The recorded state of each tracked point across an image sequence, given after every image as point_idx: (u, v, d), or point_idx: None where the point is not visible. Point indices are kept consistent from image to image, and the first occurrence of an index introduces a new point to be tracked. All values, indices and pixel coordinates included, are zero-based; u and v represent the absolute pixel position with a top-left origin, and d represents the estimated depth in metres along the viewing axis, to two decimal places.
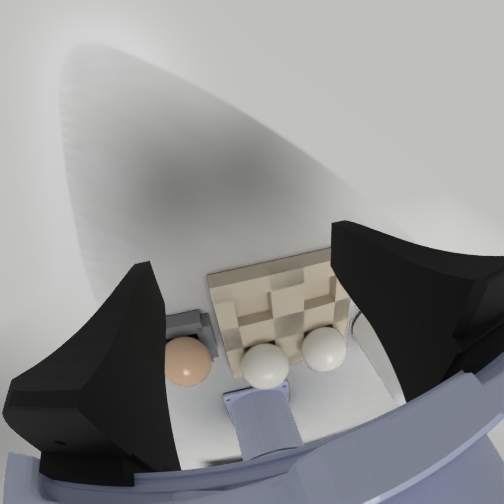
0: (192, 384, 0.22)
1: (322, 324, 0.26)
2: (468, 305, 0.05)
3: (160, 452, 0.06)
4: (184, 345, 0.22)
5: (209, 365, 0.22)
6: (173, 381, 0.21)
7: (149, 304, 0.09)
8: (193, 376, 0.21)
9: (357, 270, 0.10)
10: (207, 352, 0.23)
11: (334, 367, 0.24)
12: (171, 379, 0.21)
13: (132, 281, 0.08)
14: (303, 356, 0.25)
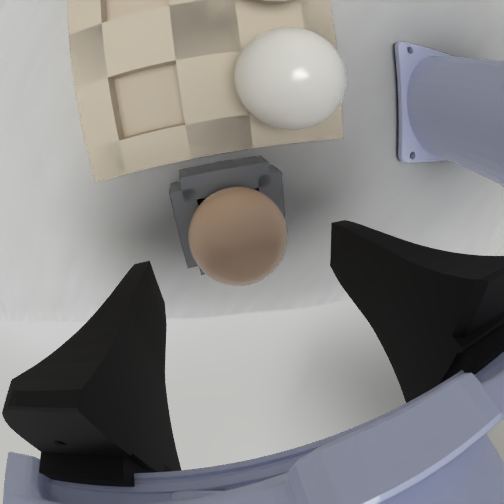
0: (261, 251, 0.11)
1: None
2: (468, 305, 0.05)
3: (160, 452, 0.06)
4: (188, 237, 0.12)
5: (234, 202, 0.11)
6: (252, 280, 0.12)
7: (149, 304, 0.09)
8: (233, 247, 0.11)
9: (357, 270, 0.10)
10: (214, 196, 0.12)
11: None
12: (246, 282, 0.12)
13: (132, 281, 0.08)
14: None
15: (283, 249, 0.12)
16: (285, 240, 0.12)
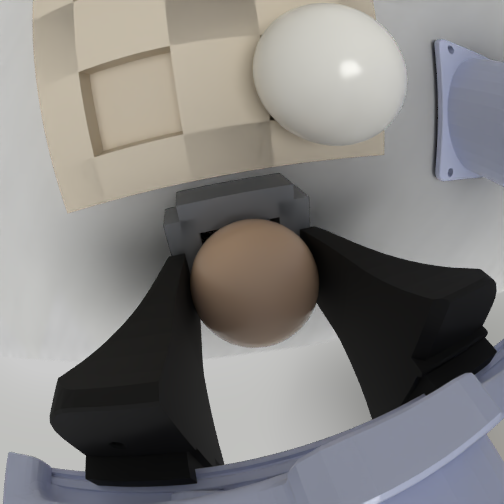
0: (290, 313, 0.08)
1: None
2: (426, 326, 0.05)
3: (211, 446, 0.06)
4: (190, 287, 0.09)
5: (253, 247, 0.08)
6: (275, 343, 0.09)
7: (188, 296, 0.09)
8: (253, 311, 0.08)
9: (323, 279, 0.10)
10: (225, 235, 0.09)
11: None
12: (266, 346, 0.09)
13: (173, 272, 0.09)
14: None
15: (315, 303, 0.09)
16: (317, 292, 0.09)
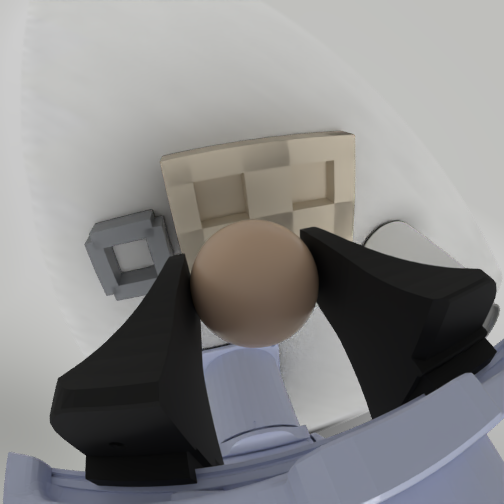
0: (290, 314, 0.08)
1: None
2: (427, 326, 0.05)
3: (211, 446, 0.06)
4: (190, 287, 0.09)
5: (254, 247, 0.08)
6: (275, 344, 0.09)
7: (188, 296, 0.09)
8: (253, 312, 0.08)
9: (323, 279, 0.10)
10: (225, 235, 0.09)
11: None
12: (266, 346, 0.09)
13: (173, 272, 0.09)
14: None
15: (314, 304, 0.09)
16: (317, 293, 0.09)
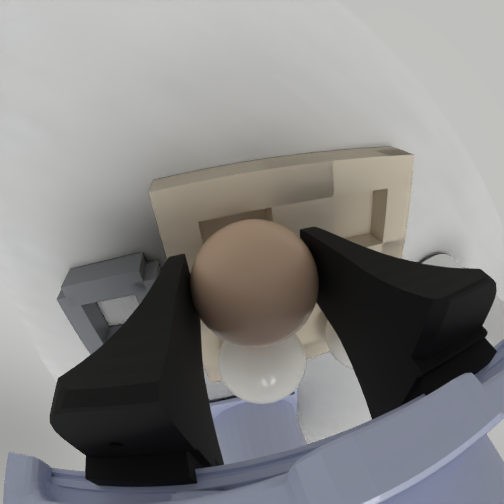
0: (290, 313, 0.08)
1: None
2: (427, 326, 0.05)
3: (211, 446, 0.06)
4: (190, 287, 0.09)
5: (254, 247, 0.08)
6: (275, 343, 0.09)
7: (188, 296, 0.09)
8: (253, 311, 0.08)
9: (323, 279, 0.10)
10: (225, 235, 0.09)
11: None
12: (266, 346, 0.09)
13: (173, 272, 0.09)
14: (330, 343, 0.14)
15: (314, 304, 0.09)
16: (317, 292, 0.09)
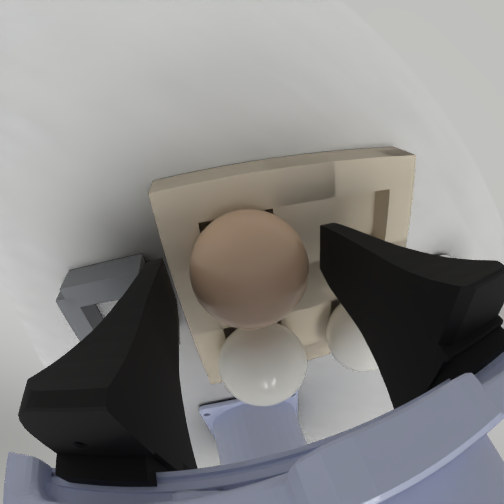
0: (281, 294, 0.09)
1: None
2: (454, 313, 0.05)
3: (179, 450, 0.06)
4: (189, 270, 0.10)
5: (248, 232, 0.09)
6: (267, 325, 0.10)
7: (164, 301, 0.09)
8: (247, 290, 0.09)
9: (344, 273, 0.10)
10: (222, 222, 0.10)
11: None
12: (259, 327, 0.10)
13: (147, 278, 0.08)
14: (331, 344, 0.14)
15: (305, 288, 0.10)
16: (307, 277, 0.10)
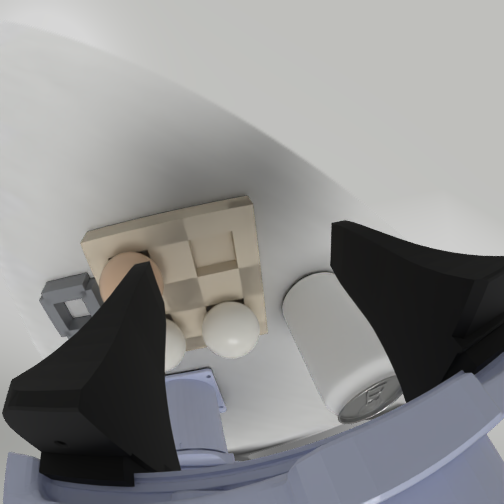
0: None
1: (228, 298, 0.22)
2: (468, 305, 0.05)
3: (160, 452, 0.06)
4: None
5: (119, 268, 0.16)
6: None
7: (149, 304, 0.09)
8: None
9: (357, 270, 0.10)
10: (111, 261, 0.17)
11: (238, 353, 0.20)
12: None
13: (132, 281, 0.08)
14: None
15: None
16: None
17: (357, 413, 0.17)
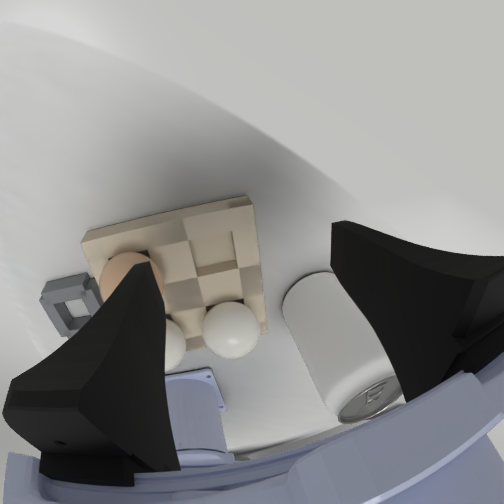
0: None
1: (228, 298, 0.22)
2: (468, 305, 0.05)
3: (160, 452, 0.06)
4: None
5: (119, 268, 0.16)
6: None
7: (149, 304, 0.09)
8: None
9: (357, 270, 0.10)
10: (111, 261, 0.17)
11: (238, 353, 0.20)
12: None
13: (132, 281, 0.08)
14: None
15: None
16: None
17: (357, 413, 0.17)
